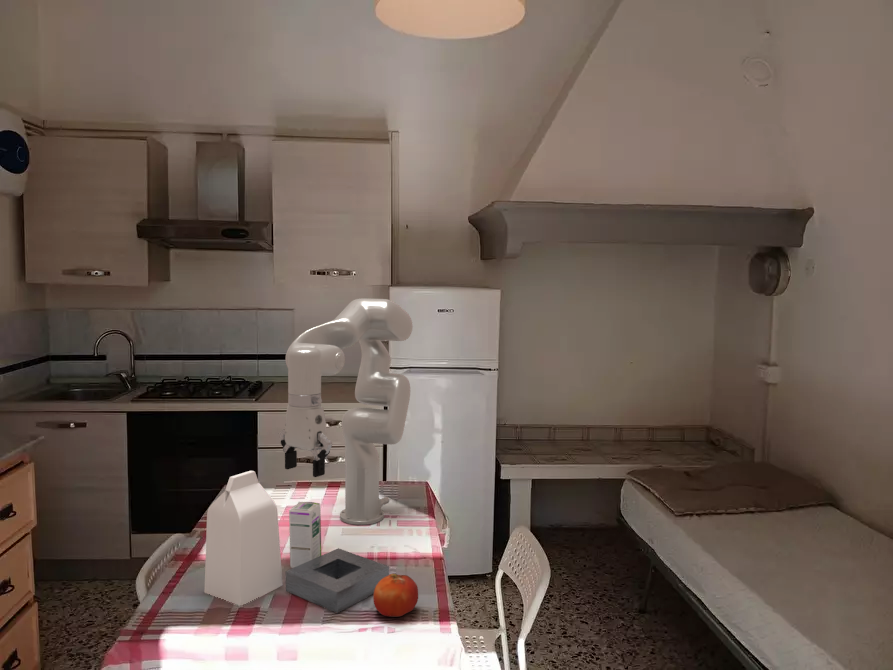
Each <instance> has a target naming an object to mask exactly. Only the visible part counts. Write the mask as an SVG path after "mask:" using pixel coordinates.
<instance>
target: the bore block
mask: <svg viewBox="0 0 893 670" xmlns="http://www.w3.org/2000/svg"><path fill="white" fill-rule="evenodd" d="M389 569H390V566H389V565H387V564H383V563H381V562H378V561H375V560H372V559H369V558H367V557H364V556H362V555H359V554H356V553H354V552H350V551H348V550H345V549H342V548H339V547H337V548H336V549H334V550H331V551H328V552H326V553H325V554H321V556H319V557H317V558H315V559H312V560H310V561H308V562H306V563H303V564H301V565H299V566H296V567H294V568H292V567H291V568H290V569H288V570H286V571H285V592H288V593H290V594H292V595H294V596H297V597H298V598H301V599H304V600H306V601H308V602H311V603H312V604H315V605H317V606H319V605H320V606H319V607H321V606H322V608H324V607H325V608H324V609H326V608H327V609H326V610H327V611H330V610H331V612H333V611H334V612H333V613H335V612H337V613H336V614H339V613H341V612H343V611H345V610H346V609H348V608H349V607H352V606H354V605H356V604H357V603H359V602H361V601H362V600H365V599H367V598H368V596H369V597H371V596H373V595H374V590H375V587H376V585H377V584H378V582H379V581H380V580H381V579H383V578H384V577H386V576H388V575H390V570H389ZM366 597H367V598H366ZM342 610H343V611H342ZM340 611H341V612H340ZM338 612H339V613H338Z"/></svg>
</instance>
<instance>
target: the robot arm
mask: <svg viewBox="0 0 893 670" xmlns="http://www.w3.org/2000/svg"><path fill="white" fill-rule="evenodd" d="M412 332H413V320H412V318H411V315H410V314H409V313H408V312H407V311H406V310H405V309H403V308H402V307H401V306H400V305H399V304H398V303H396V302H395V301H393V300H390V299H386V298H368V297H367V298H366V297H365V298H364V297H363V298H356V299H353V300H352V301H350V302H349V303H348V304H347V305H346V306H345V307H344V308H343V310H342V311H341V312H340V313H339V314H338V315H336V317H335V318H334V319H333V320H329V321H327V322H324V323H322V324H320V325H317V326H314V327H312V328H310V329H307V330H306V331H304V332H302V333H301V334H299V336H297V337H296V338H295V339H294V340H293V341H292V342H291V343H290V345H289V346H288V349H287V351H286V353H285V364H286V367H287V369H288V370H287V373H288V375H287V378H288V380H287V385H288V386H287V387H288V389H287V392H288V399H287V401H288V402H287V403H288V404H287V407H286V408H287V409H286V413H285V424H284V429H282V430H280V431H278V436H279V441H280V445H281V446H282V451H283V453H284V469H285V470H291V469H294V468H296V467H297V466H298V457H297V456H298V451H297V450H296V449H300V450H304V451H309V452H311V455H312V457H313V458H314V459H313V460H312V477H313V478H319V477H322V476H324V475H325V471H326V470H325V469H326V465H325V464H326V461H325V460H326V459H327V458H328V456H329V454H330V453H331V449H332V446H333V442H332V441H331V440H330V439H329V438H328V436H327V435H328V434H327V433H328V432H327V422H326V415H325V414H326V413H325V410H324V407H323V406H322V403H323V399H322V376H324V377H325V376H326V377H327V376H328V377H329V376H335V375H337V374H339V373H340V372H341V371H342V369H343V368H344V366H345V362H346V357H345V356H346V355H345V353H344V351H343V350H345V349H347V348H352V347H354V346H355V345H356V344H357V343H359V346H360V350H361V351H360V352H361V360H360V364H359V370H358V374H357V379H356V383H355V390H354V398H355V399H356V401H357V402H359V403H360V404H363V405H367V406H377V407H388V409H384V408H383V409H380V408H371V407H353V408H350V409H348V410H346V411H345V413H344V414H343V415H342V419H341V430H342V431H341V432H342V435H343V442H344V451H345V453H344V455H345V457H344V459H345V460H344V461H345V462H344V463H345V464H344V465H345V468H344V469H345V478H344V479H345V486H344V487H345V489H344V490H345V491H344V493H345V494H344V495H345V496H344V497H345V498H344V499H345V501H344V502H345V505H344V506H345V509H343V510H341V511H340V512H339V519H340V520H341V522H344V523H345V524H349V525H353V526H354V525H357V526H359V525H362V526H363V525H372V524H376V523H378V522H380V520H381V521H382V520H383V519H384V518H385V512H384V510H383V509H382V507H383V506H384V505H387V504H389V503H390V498H389V497H388V496H385V497H382V498H380V455H379V452H378V450H377V447H376V446H375V444H379V445H391V446H392V445H396V444H398V443H399V442H400V441H401V440H402V437H403V435H404V432H405V431H404V430H405V424H406V420H407V416H408V415H407V414H408V409H409V404H410V398H411V384H410V380H409V379H408V377H407V376H405V375H404V374H400V373H393V372H392V373H390V367H391V362H392V358H391V355H390V352H389V351H388V350H387V348H386V347H385V344H384V343H383V342H382V341H388V342H389V341H390V342H391V341H392V342H403V341H404V342H405V341H406V340H408V339H409V338H410V337H411V335H412Z"/></svg>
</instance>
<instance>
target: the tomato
mask: <svg viewBox="0 0 893 670" xmlns="http://www.w3.org/2000/svg"><path fill="white" fill-rule="evenodd" d="M372 596H373V597H372V599H373V604H374V608H375V609H376V611H378V612H379V614H381V615H382V616H385V617H391V618H392V617H393V618H397V617H402V616H404V615H405V614H408V613H410V612H412V611H413V610H414V608H415V607H416V606H417V603H418V601H419V587H418V584H417V583H416V582H415V581H414V580H413V579H412V577H410V576H409V575H407V574H397V573H389V575H388V576H386V577H384V578H383V579H381V580H380V581H379V582H378V584H377V585H376V587H375V590H374V594H372Z"/></svg>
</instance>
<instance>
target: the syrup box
mask: <svg viewBox="0 0 893 670" xmlns="http://www.w3.org/2000/svg"><path fill="white" fill-rule="evenodd" d="M288 519H289V521H288V523H289V525H288V527H289V562H290V563H289V565H290V568H291V569H292V568H294V567H296V566H299V565H301V564H303V563H306V562H308V561H310V560H312V559H315V558H317V557H319V556H322V528H321V527H322V525H321V523H322V522H321V521H322V520H321V503H319V502H312V501H298V502H297V503H296V504H295V505H294V506H292V507H291V508H290V509H288Z"/></svg>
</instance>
